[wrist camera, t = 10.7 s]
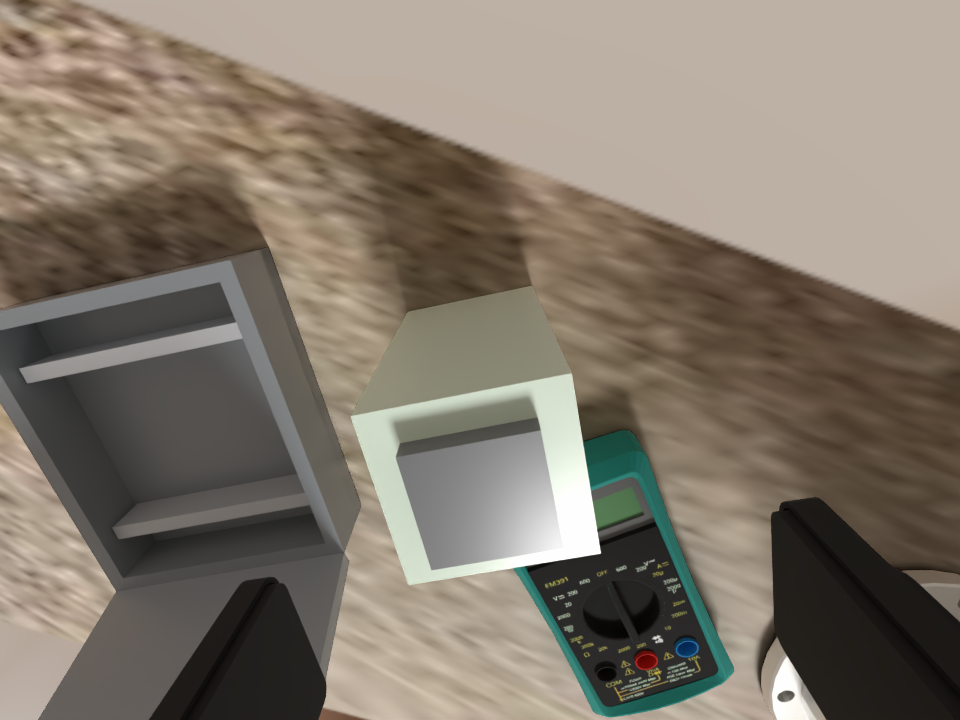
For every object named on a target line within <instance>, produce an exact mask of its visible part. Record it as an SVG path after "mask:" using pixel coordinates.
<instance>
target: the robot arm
mask: <svg viewBox="0 0 960 720" xmlns="http://www.w3.org/2000/svg"><path fill="white" fill-rule="evenodd" d="M771 535H772V567H773V600H774V626H775V631H776V635H777V637H776V639H775V640H774V642H773V644H772V646H771V647H770V649H769V651H768V652H767V655H766V658H765V661H764V664H763V667H762V675H761V688H762V692H763V696H764V700H765V702H766V704H767V706H768V708H769V710H770V711H771V713H772V715H773V717H774V719H775V720H960V575H958V574H955V573H948V572H942V571H935V570H904V571H899V570H895V569H894V568H893V567H891V566H890V565H889V564H888V563H887V562H886V561H885V560H884V559H883V558H882V557H881V556H880V555H879V554H878V553H877V552H876V551H875V550H874V549H873V548H872V547H871V546H870V545H869V544H867V543H866V542H865V541H864V540H863V539H862V538H861V537H860V536H859V535H858V534H857V533H856V532H855V531H854V530H853V529H852V528H851V527H850V526H849V525H848V524H847V523H846V522H845V521H844V520H842V519H841V518H840V517H839V516H838V515H837V514H836V513H835V512H834V511H833V510H832V509H831V508H830V507H829V506H828V505H827V504H826V503H825V502H824V501H822V500H821V499H820V498H816V497H814V498H807V499H800V500H793V501H786V502H783V503H781V505H780V509H779V511H777V512H773V513H772V515H771ZM325 698H326V681H325V677H324V675H323V673H322V670H321V668H320V665H319V663H318V661H317V658H316V656H315V653H314V651H313V649H312V646H311V644H310V641H309V639H308V637H307V634H306V632H305V629H304V627H303V625H302V622H301V620H300V617H299V615H298V613H297V610H296V608H295V606H294V603H293V601H292V598H291V596H290V594H289V591H288V589H287V587H286V585H285V584H283V583H279V581H278V580H277V579H276V578H275V577H265V578H259V579H252V580H246V581H244V582H242V583H241V584H240V585H239V586H238V588H237V589H236V591H235V592H234V594H233V595H232V596H231V598H230V599H229V601H228V602H227V604H226V605H225V607H224V608H223V610H222V611H221V613H220V614H219V616H218V617H217V619H216V620H215V622H214V623H213V625H212V626H211V628H210V629H209V631H208V632H207V634H206V635H205V637H204V638H203V640H202V641H201V643H200V644H199V646H198V647H197V649H196V650H195V652H194V653H193V655H192V656H191V658H190V659H189V661H188V662H187V663H186V665H185V666H184V668H183V669H182V671H181V672H180V674H179V675H178V677H177V678H176V680H175V681H174V683H173V684H172V686H171V687H170V689H169V690H168V692H167V693H166V695H165V696H164V698H163V699H162V701H161V702H160V704H159V705H158V707H157V708H156V710H155V711H154V713H153V714H152V716H151V717H150V719H149V720H318V719H319V716H320V713H321V710H322V707H323V705H324V701H325Z"/></svg>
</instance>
